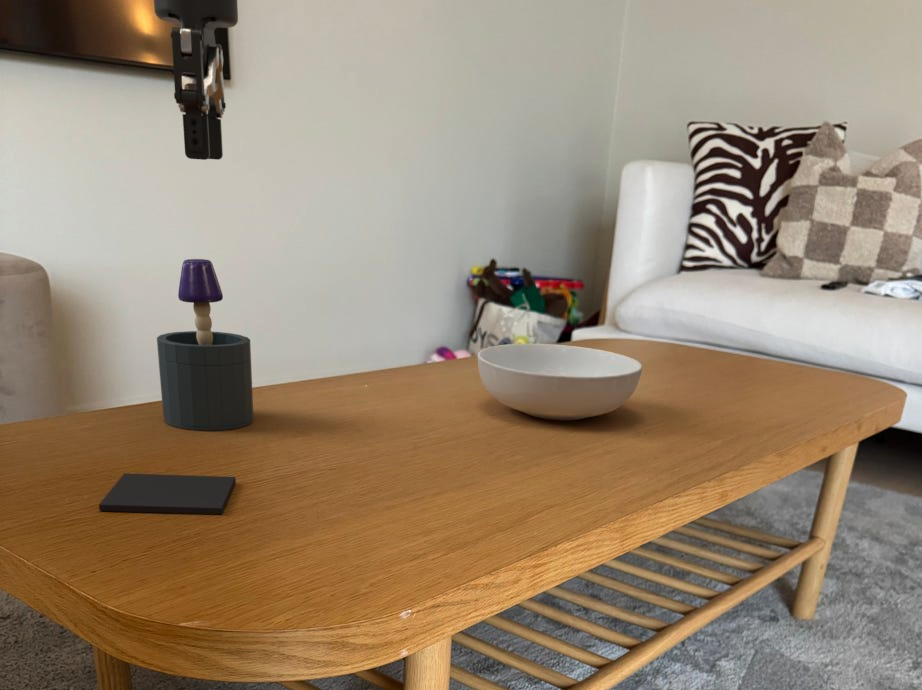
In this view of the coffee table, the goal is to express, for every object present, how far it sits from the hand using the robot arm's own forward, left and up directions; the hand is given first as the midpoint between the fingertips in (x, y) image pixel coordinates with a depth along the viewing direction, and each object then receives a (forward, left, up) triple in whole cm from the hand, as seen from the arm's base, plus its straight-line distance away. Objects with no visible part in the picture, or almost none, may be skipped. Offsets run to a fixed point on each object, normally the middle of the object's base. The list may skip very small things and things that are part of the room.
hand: (204, 159), depth 95 cm
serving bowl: (+40, +14, -27) cm, 51 cm away
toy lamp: (-2, +3, -27) cm, 27 cm away
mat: (-1, -25, -27) cm, 37 cm away
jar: (-2, +3, -27) cm, 27 cm away
